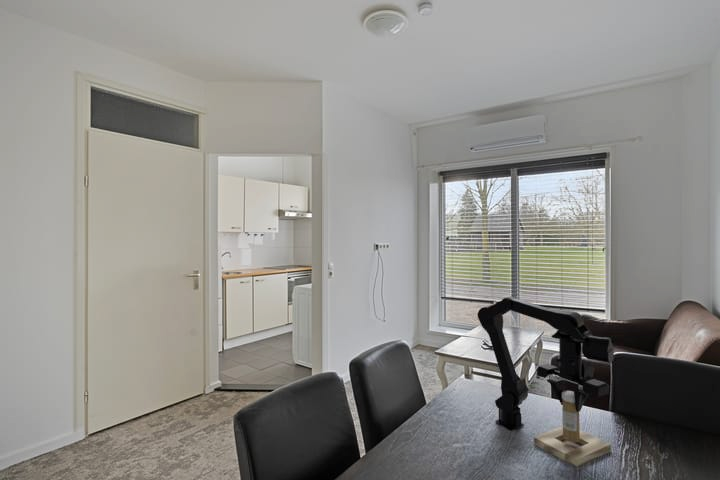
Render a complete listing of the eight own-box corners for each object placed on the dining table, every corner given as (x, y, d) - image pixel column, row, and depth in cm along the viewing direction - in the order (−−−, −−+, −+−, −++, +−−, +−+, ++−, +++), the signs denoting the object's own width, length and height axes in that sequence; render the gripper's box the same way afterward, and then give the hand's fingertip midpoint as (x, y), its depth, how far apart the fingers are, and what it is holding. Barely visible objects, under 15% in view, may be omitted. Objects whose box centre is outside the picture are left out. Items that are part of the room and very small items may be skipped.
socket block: (533, 443, 110) (533, 437, 110) (567, 430, 117) (567, 424, 117) (576, 467, 98) (576, 459, 98) (610, 451, 106) (610, 444, 106)
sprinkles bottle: (583, 439, 107) (582, 393, 107) (575, 444, 105) (574, 397, 105) (567, 433, 111) (566, 388, 111) (559, 437, 109) (558, 392, 109)
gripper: (620, 360, 103) (620, 415, 103) (558, 343, 120) (558, 391, 120) (596, 366, 98) (597, 424, 98) (535, 348, 115) (535, 398, 115)
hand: (570, 408), depth 108 cm, fingers closed on sprinkles bottle, 4 cm apart
